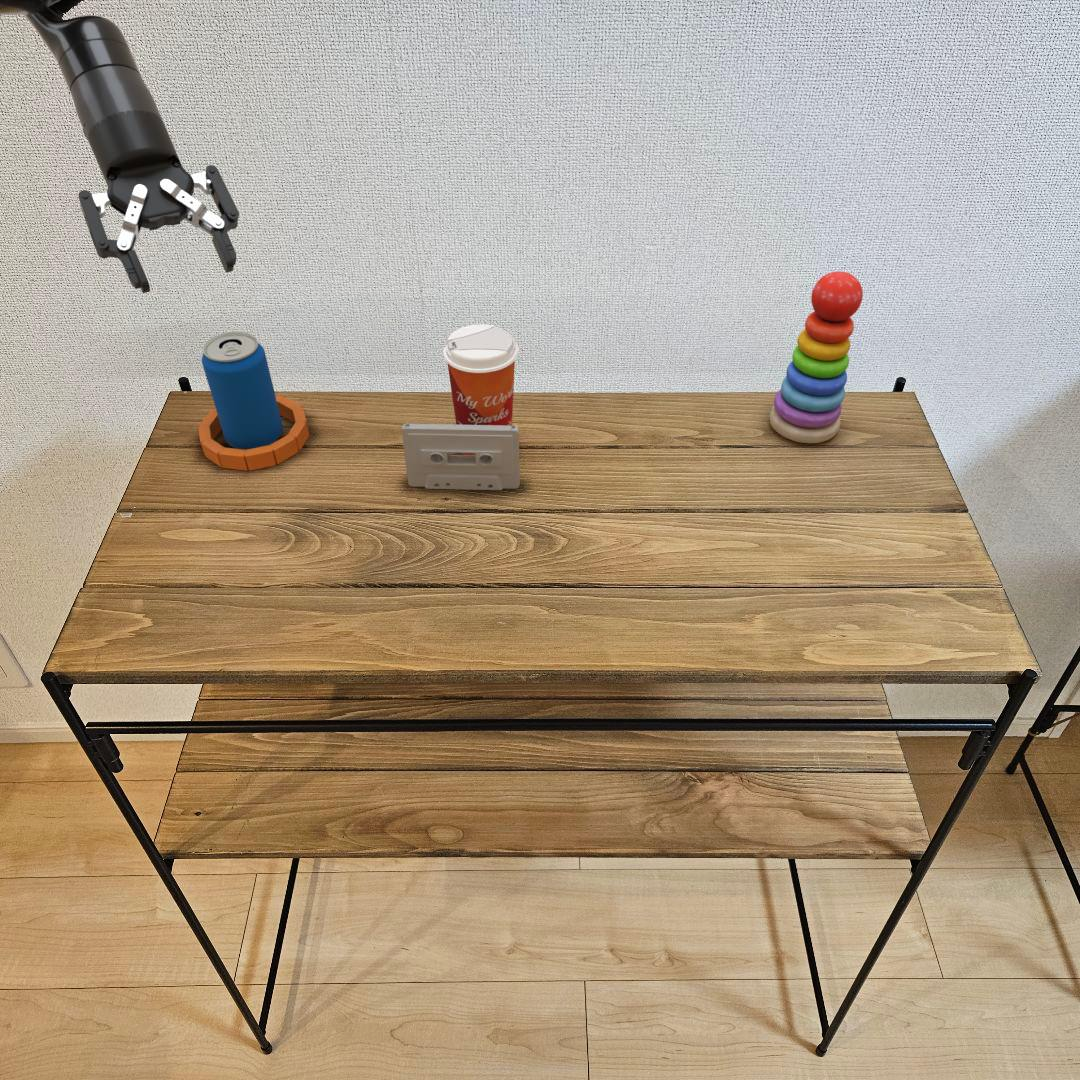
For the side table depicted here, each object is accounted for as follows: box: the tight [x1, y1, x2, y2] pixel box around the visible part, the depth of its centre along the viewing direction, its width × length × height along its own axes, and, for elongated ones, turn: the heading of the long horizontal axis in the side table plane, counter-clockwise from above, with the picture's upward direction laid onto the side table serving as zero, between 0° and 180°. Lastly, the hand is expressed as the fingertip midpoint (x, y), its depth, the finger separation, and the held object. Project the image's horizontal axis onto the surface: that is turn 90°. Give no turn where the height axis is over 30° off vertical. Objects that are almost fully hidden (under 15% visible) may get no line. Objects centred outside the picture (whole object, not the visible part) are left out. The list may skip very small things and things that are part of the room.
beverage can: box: [201, 331, 284, 450], centre depth 97 cm, size 6×6×12 cm
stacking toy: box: [769, 270, 864, 444], centre depth 97 cm, size 8×8×19 cm
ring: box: [197, 394, 310, 472], centre depth 100 cm, size 12×12×2 cm
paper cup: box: [442, 323, 520, 455], centre depth 95 cm, size 8×8×14 cm
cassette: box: [401, 423, 521, 491], centre depth 93 cm, size 12×2×8 cm, turn 88°
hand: (189, 279), depth 90 cm, fingers open, 8 cm apart
